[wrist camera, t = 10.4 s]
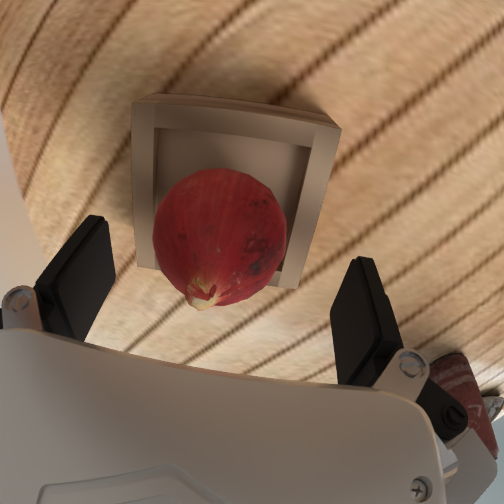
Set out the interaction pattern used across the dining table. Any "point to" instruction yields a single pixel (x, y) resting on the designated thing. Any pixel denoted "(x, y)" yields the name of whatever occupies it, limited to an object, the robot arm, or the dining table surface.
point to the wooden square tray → (232, 162)
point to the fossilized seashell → (493, 406)
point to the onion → (219, 236)
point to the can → (465, 394)
